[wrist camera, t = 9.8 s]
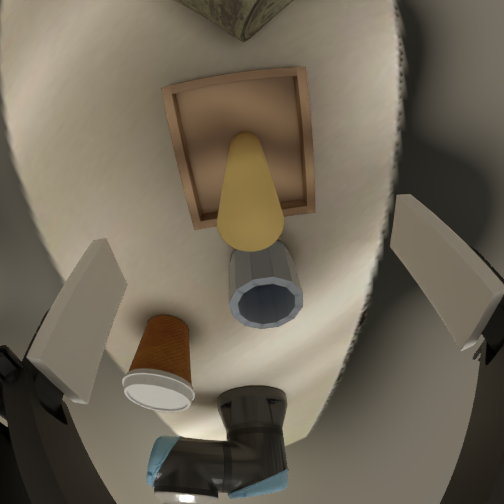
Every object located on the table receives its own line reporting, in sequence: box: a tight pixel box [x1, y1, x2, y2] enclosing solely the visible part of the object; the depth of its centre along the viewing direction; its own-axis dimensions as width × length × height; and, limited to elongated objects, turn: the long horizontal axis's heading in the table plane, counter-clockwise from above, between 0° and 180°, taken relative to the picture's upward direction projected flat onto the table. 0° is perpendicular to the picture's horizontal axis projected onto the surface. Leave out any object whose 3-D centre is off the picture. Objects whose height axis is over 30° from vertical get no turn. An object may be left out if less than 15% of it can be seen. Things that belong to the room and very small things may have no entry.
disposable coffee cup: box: [122, 315, 195, 412], centre depth 34 cm, size 10×10×12 cm
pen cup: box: [229, 240, 303, 329], centre depth 30 cm, size 7×7×7 cm
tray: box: [161, 67, 315, 230], centre depth 24 cm, size 14×12×2 cm
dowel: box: [217, 132, 284, 252], centre depth 18 cm, size 3×3×15 cm
